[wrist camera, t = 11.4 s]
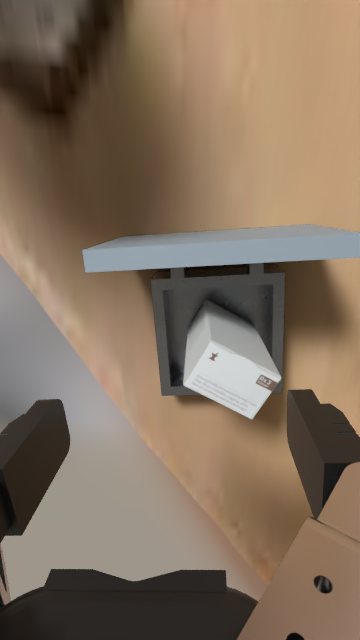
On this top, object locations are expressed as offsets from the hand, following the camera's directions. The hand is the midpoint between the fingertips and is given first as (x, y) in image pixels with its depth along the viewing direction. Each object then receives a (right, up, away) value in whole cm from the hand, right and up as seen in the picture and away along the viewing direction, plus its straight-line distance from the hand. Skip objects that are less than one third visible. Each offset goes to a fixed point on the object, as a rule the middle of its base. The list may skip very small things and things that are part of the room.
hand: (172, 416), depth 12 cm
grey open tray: (+4, +4, +24) cm, 25 cm away
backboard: (+4, +11, +21) cm, 25 cm away
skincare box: (+5, +3, +24) cm, 24 cm away
